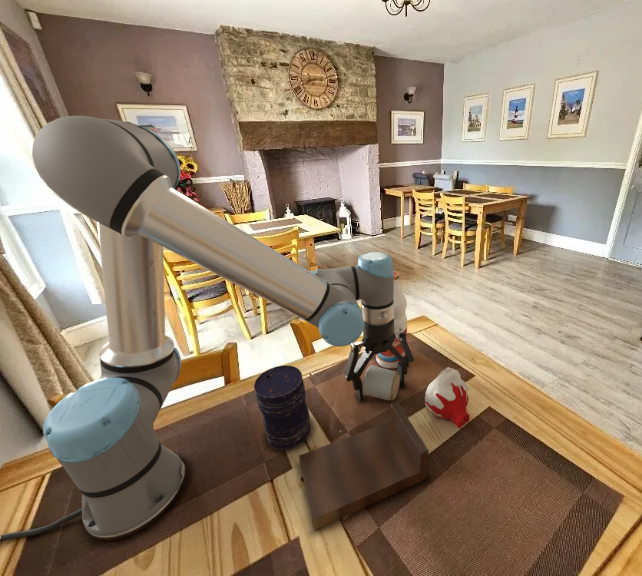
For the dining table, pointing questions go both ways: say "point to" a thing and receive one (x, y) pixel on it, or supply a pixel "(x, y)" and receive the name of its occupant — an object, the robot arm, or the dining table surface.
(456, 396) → the white red rounded piece
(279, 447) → the storage jar
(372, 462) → the dark wooden tray
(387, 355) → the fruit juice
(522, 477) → the dining table surface
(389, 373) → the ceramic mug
